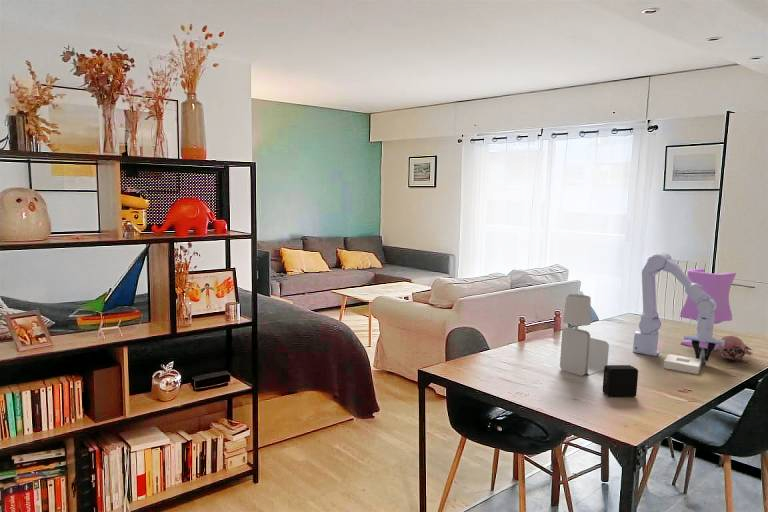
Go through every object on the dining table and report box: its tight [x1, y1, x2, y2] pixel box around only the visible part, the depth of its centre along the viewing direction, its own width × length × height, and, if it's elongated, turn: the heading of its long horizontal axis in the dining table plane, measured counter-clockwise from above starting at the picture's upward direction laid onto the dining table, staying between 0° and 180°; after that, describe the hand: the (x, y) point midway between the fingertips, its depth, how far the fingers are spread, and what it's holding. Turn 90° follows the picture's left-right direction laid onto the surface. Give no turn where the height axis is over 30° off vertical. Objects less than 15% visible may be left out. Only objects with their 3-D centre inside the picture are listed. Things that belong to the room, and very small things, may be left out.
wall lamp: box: [559, 293, 610, 377], centre depth 211 cm, size 10×21×30 cm, turn 131°
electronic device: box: [602, 364, 639, 398], centre depth 186 cm, size 4×10×10 cm, turn 95°
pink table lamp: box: [679, 268, 737, 352], centre depth 251 cm, size 16×16×35 cm
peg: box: [698, 347, 707, 366], centre depth 223 cm, size 3×3×7 cm
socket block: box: [663, 353, 702, 375], centre depth 219 cm, size 12×12×3 cm
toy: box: [718, 335, 754, 363], centre depth 228 cm, size 12×11×15 cm
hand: (702, 359), depth 224 cm, fingers closed on peg, 3 cm apart
